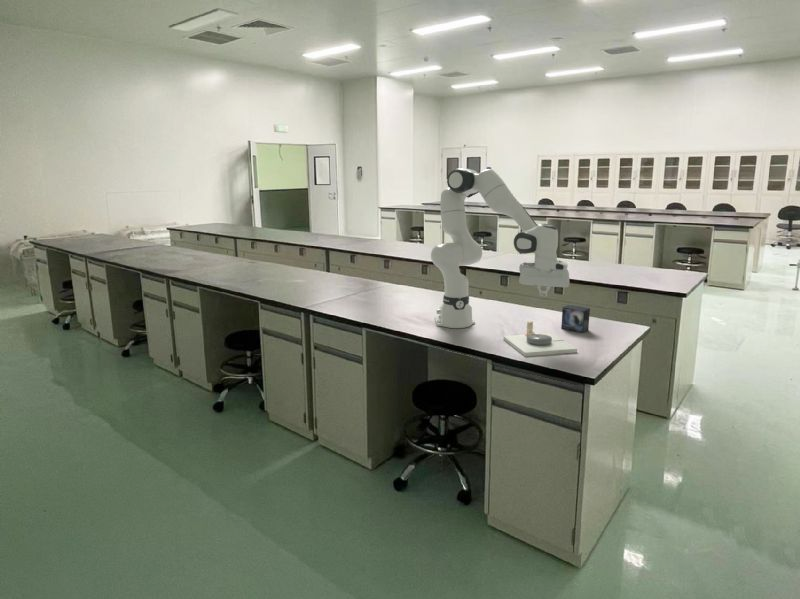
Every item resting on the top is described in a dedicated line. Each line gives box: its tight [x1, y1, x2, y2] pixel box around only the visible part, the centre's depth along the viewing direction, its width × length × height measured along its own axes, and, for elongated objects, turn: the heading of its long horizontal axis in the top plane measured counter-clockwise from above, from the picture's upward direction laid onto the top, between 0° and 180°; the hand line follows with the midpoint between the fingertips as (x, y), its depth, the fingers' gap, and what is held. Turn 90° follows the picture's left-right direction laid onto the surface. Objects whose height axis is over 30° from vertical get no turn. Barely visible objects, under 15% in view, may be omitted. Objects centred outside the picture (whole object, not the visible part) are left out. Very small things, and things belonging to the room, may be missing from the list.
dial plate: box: [502, 332, 578, 357], centre depth 214 cm, size 22×22×2 cm
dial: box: [526, 320, 552, 345], centre depth 216 cm, size 16×10×6 cm, turn 10°
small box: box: [560, 304, 591, 334], centre depth 235 cm, size 11×6×10 cm, turn 45°
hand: (543, 296), depth 218 cm, fingers closed
